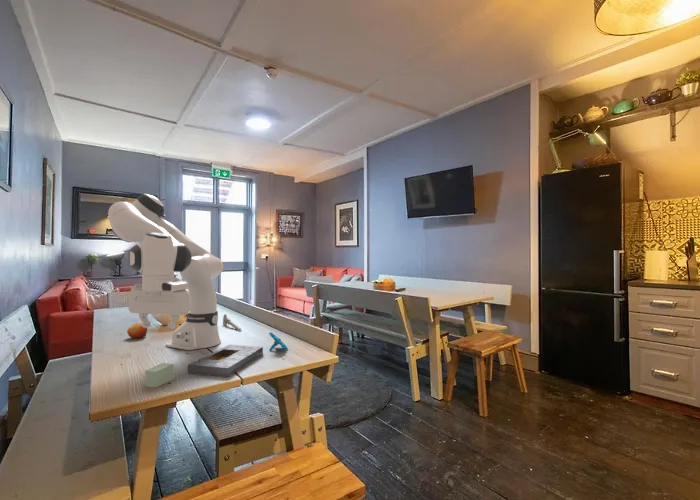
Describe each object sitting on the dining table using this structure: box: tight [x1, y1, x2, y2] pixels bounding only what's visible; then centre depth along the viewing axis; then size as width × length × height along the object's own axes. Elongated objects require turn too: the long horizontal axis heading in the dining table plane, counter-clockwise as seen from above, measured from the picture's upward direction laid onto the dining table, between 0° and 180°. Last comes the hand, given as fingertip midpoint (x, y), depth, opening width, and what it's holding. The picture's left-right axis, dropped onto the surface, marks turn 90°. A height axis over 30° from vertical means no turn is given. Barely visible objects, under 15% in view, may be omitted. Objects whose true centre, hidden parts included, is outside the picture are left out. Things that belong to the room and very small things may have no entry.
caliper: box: [222, 313, 243, 332], centre depth 178 cm, size 20×1×6 cm, turn 44°
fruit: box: [126, 322, 148, 340], centre depth 160 cm, size 8×8×8 cm
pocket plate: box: [187, 344, 264, 378], centre depth 123 cm, size 15×24×3 cm, turn 167°
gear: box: [268, 332, 288, 352], centre depth 139 cm, size 11×6×10 cm
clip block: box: [144, 362, 174, 388], centre depth 106 cm, size 4×7×5 cm, turn 167°
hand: (158, 328), depth 106 cm, fingers open, 8 cm apart
